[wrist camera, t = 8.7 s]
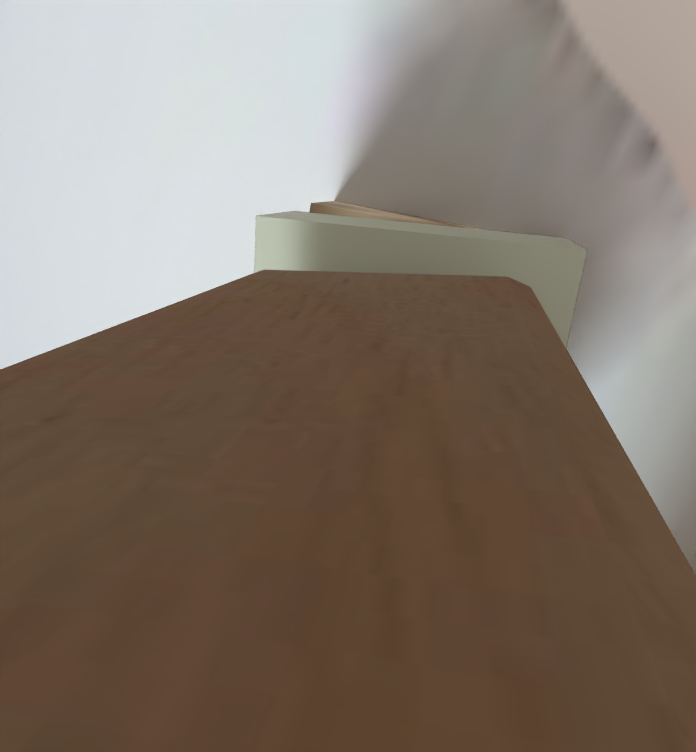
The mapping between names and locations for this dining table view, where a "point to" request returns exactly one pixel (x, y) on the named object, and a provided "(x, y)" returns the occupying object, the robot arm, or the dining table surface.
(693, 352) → the dining table surface
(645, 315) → the dining table surface
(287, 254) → the tower top
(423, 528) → the wooden block
